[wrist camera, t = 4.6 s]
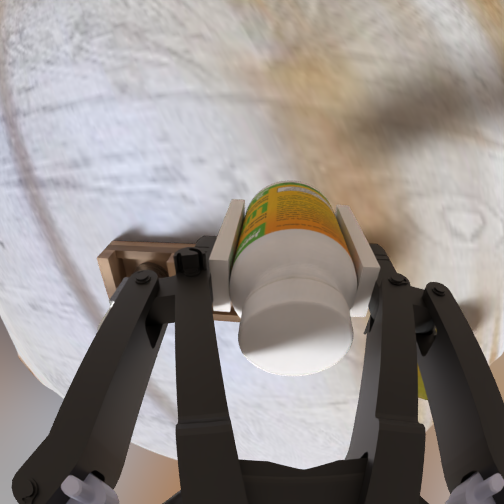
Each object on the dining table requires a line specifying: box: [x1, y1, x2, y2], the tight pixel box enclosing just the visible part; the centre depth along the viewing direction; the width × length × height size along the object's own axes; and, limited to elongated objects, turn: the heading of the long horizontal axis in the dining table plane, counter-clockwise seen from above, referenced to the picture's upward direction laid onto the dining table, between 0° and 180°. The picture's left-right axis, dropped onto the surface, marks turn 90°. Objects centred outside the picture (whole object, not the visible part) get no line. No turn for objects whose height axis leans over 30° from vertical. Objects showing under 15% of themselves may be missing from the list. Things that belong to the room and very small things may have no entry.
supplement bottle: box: [229, 181, 357, 376], centre depth 14 cm, size 5×5×10 cm
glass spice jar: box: [98, 262, 169, 330], centre depth 29 cm, size 5×5×10 cm
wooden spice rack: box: [97, 241, 241, 322], centre depth 32 cm, size 9×27×4 cm, turn 89°
